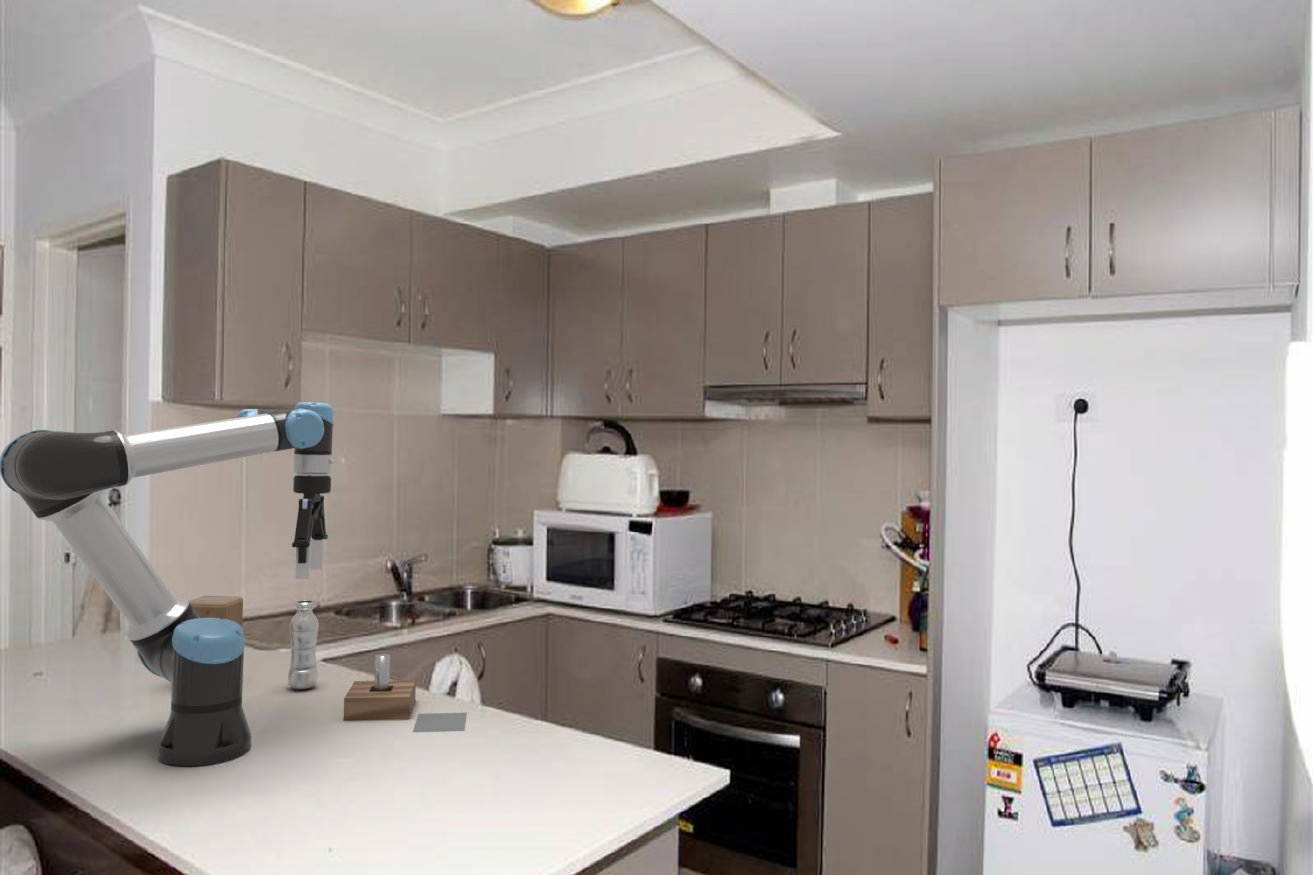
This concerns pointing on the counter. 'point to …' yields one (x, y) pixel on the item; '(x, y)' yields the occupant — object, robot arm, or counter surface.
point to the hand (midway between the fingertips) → (309, 574)
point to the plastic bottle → (303, 647)
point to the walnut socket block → (379, 701)
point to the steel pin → (382, 672)
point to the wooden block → (219, 607)
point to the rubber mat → (440, 722)
